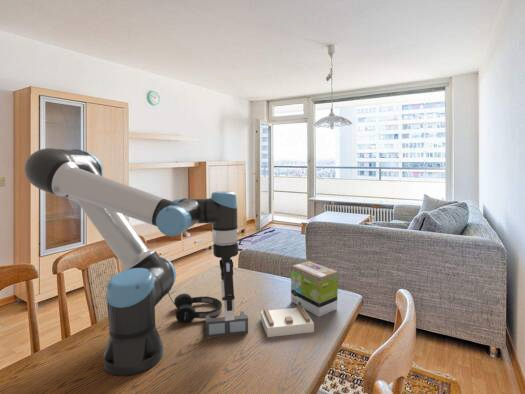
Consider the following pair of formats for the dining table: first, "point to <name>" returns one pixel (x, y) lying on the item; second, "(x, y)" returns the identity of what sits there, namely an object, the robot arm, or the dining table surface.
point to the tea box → (314, 287)
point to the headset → (186, 310)
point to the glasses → (226, 326)
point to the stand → (286, 321)
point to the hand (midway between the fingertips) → (227, 309)
